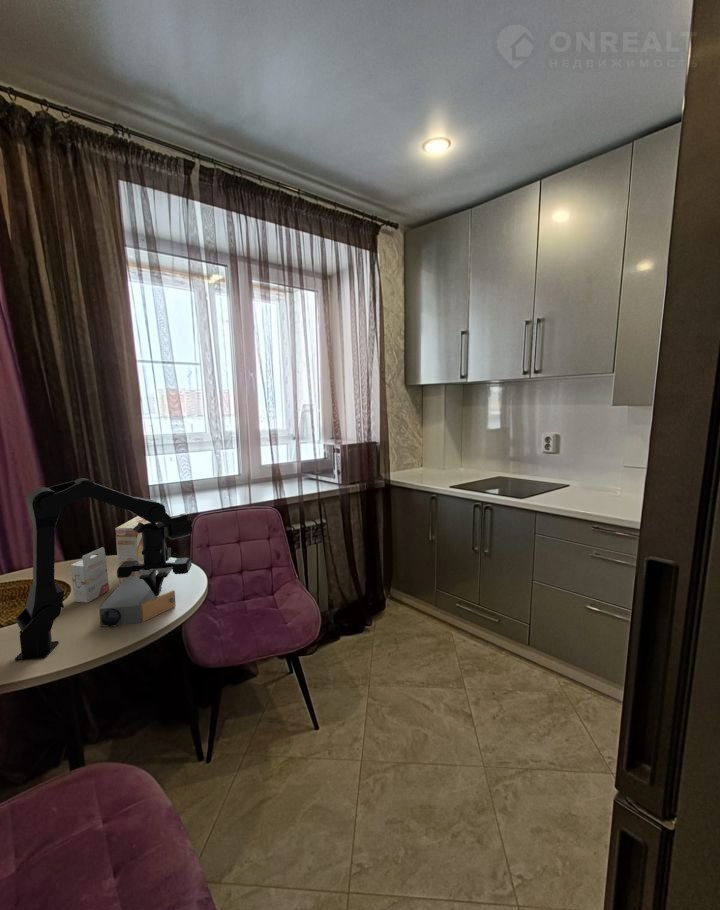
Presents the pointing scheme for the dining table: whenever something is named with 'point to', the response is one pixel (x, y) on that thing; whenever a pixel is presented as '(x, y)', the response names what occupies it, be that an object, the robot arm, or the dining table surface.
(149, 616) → the side door
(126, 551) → the coffeecake box
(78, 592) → the ink cartridge box
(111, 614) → the box
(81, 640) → the dining table surface
